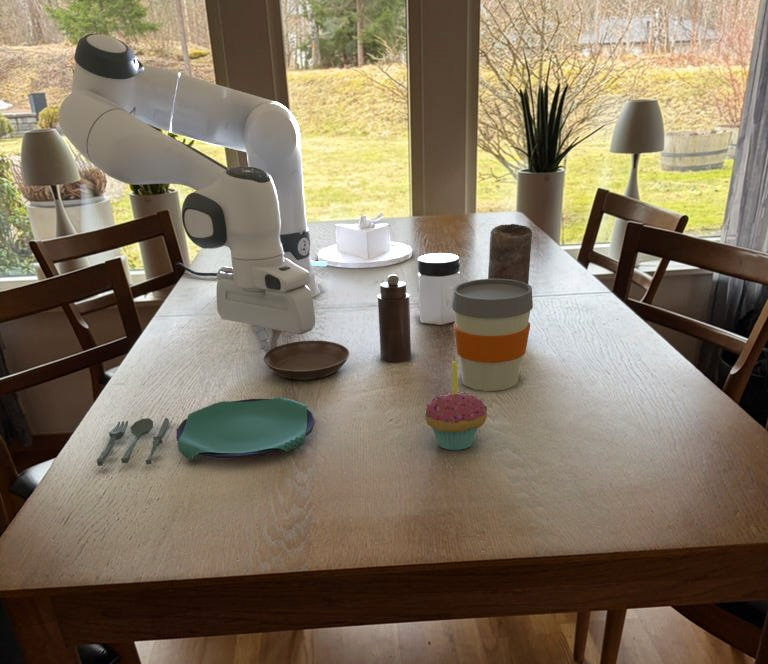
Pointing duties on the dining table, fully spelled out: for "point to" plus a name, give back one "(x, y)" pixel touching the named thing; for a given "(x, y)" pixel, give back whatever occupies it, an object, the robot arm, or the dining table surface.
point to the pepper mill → (394, 321)
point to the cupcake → (455, 416)
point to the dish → (364, 246)
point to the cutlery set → (228, 430)
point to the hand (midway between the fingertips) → (268, 350)
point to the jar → (437, 287)
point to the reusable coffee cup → (491, 331)
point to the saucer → (306, 359)
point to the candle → (510, 252)
